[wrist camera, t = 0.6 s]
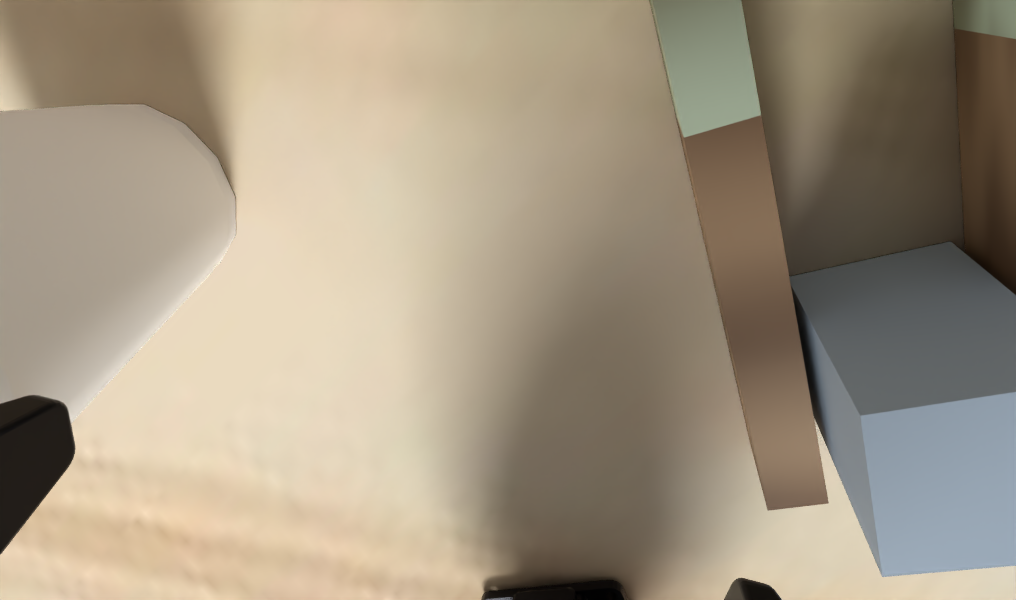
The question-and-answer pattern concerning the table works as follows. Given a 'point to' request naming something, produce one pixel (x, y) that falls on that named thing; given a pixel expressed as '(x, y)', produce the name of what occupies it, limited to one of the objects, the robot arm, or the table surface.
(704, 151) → the u-shaped frame
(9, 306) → the foam cup
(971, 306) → the block
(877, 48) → the table surface
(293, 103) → the table surface
